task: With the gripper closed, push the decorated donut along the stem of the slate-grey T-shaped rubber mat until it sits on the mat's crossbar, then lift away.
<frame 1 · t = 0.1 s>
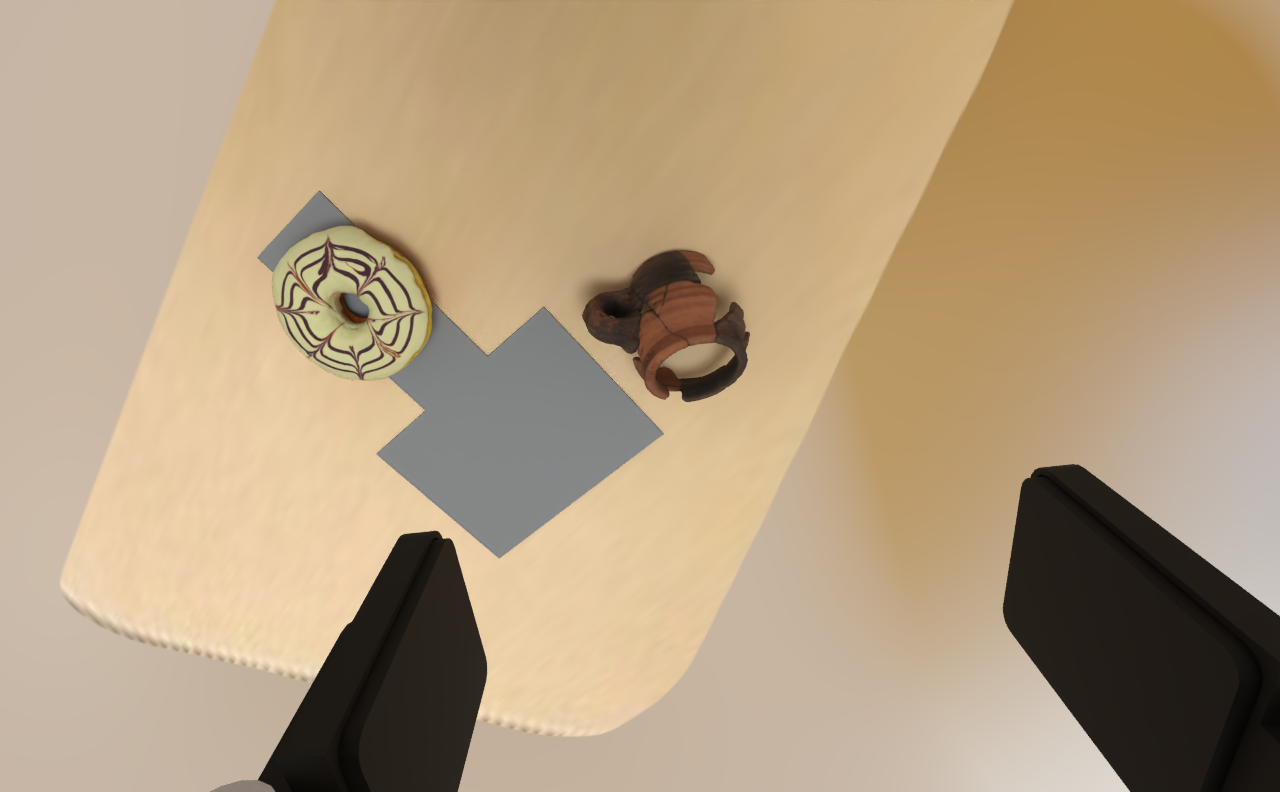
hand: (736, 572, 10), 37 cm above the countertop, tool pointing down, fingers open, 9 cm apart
t mat: (446, 374, 49), on the countertop
decorated donut: (366, 298, 46), resting on t mat
pottery mug: (665, 312, 47), on the countertop
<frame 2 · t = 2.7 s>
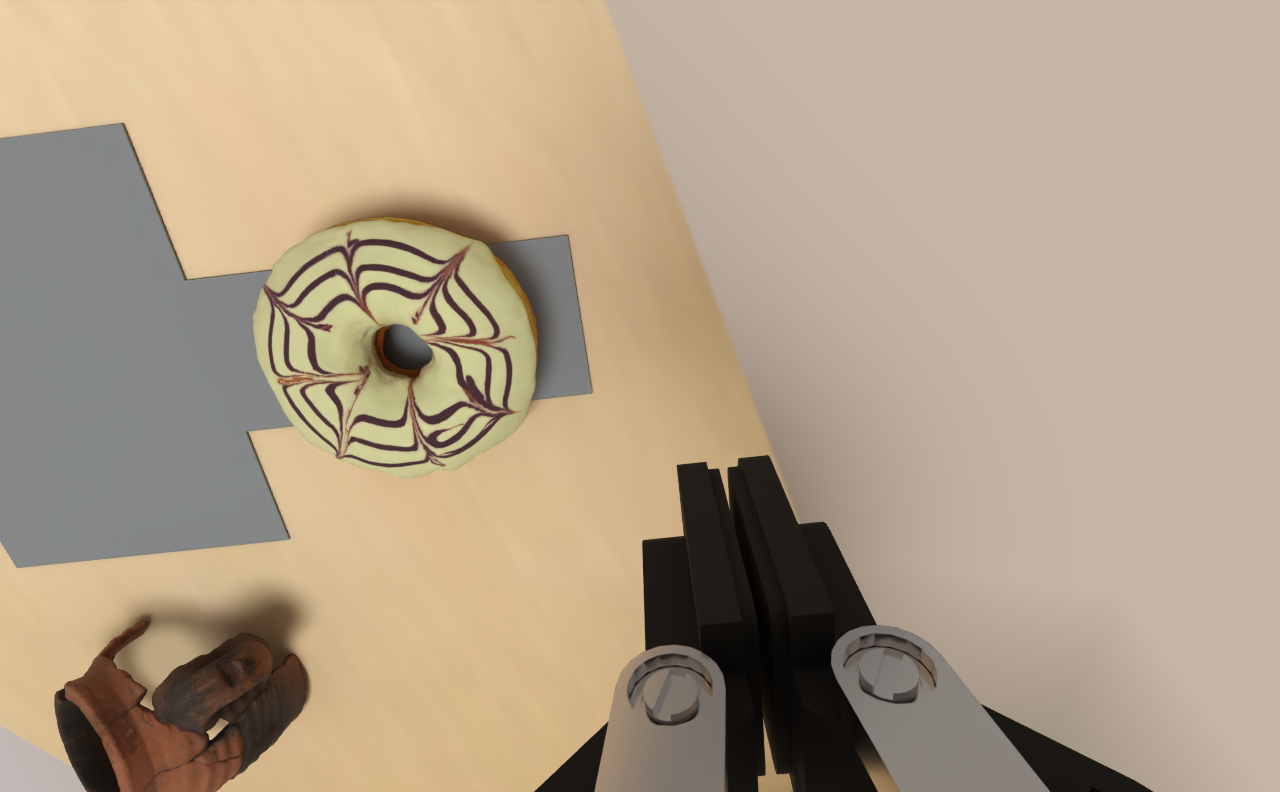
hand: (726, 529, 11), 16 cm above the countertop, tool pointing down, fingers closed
t mat: (240, 356, 27), on the countertop
decorated donut: (421, 335, 27), resting on t mat
pottery mug: (230, 656, 34), on the countertop
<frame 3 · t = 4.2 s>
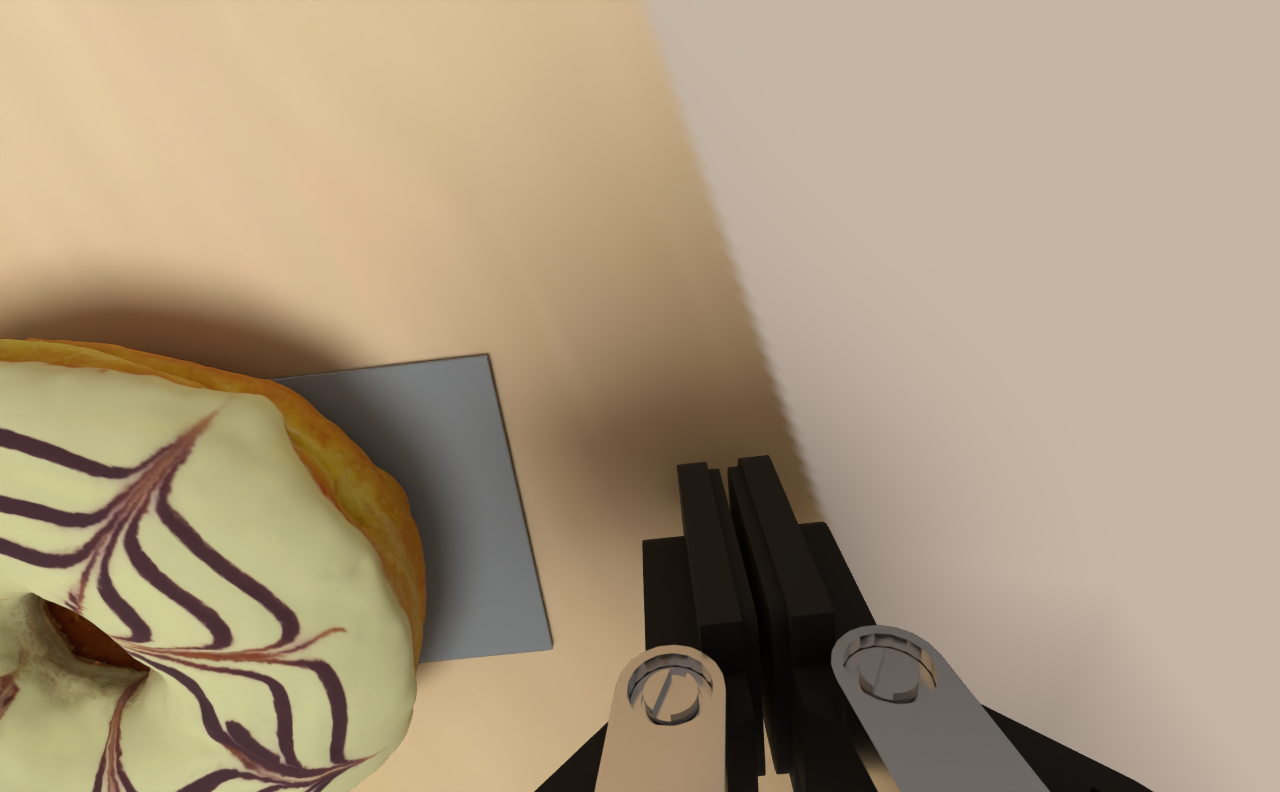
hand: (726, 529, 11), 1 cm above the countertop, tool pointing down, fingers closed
decorated donut: (192, 548, 13), resting on t mat
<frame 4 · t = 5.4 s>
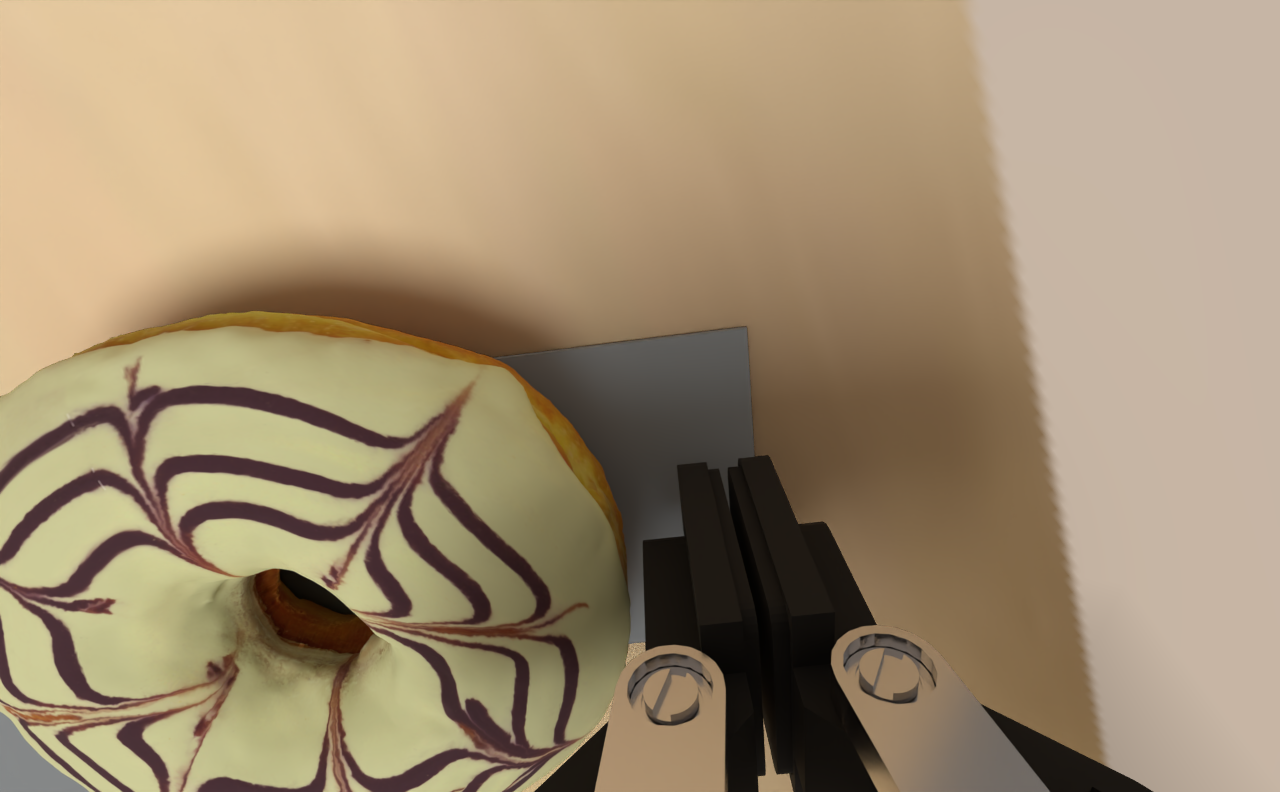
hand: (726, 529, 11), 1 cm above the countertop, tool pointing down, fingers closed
t mat: (39, 574, 13), on the countertop
decorated donut: (371, 531, 13), resting on t mat
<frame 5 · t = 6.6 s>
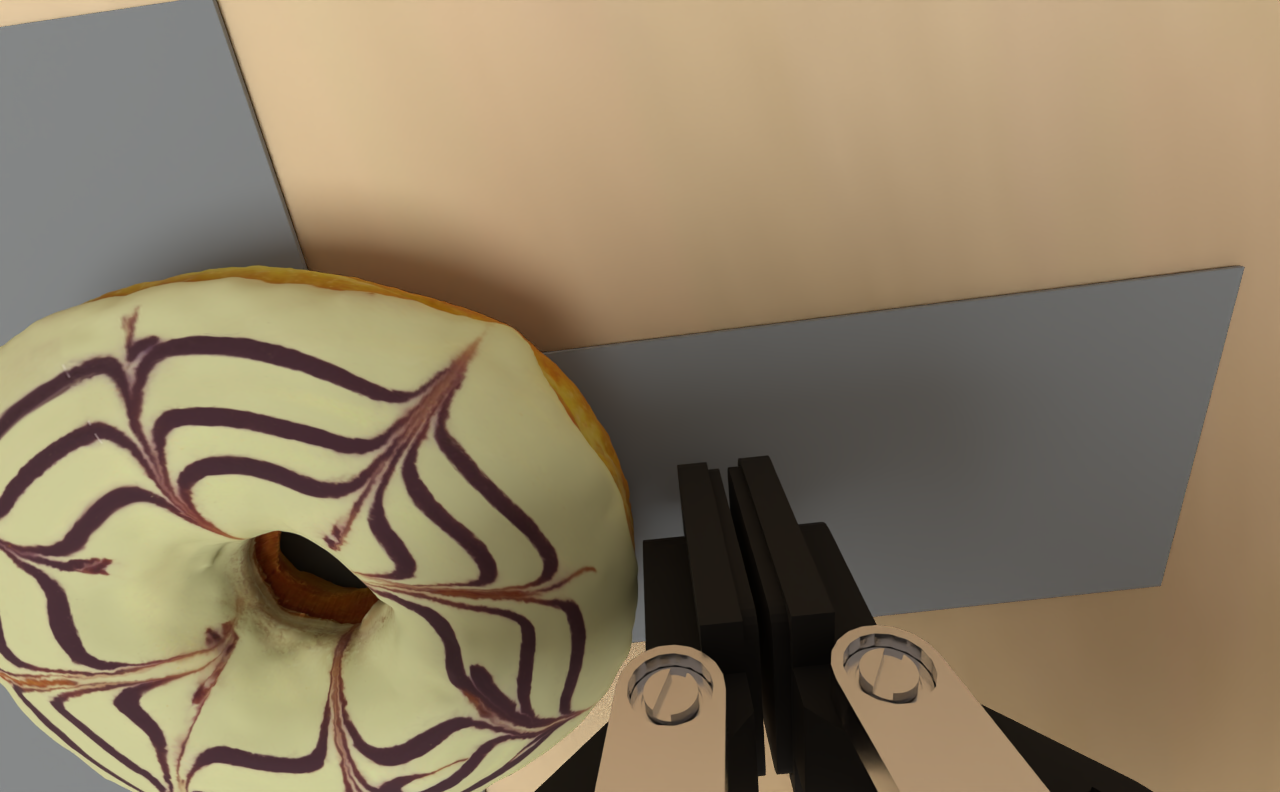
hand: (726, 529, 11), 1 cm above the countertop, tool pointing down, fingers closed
t mat: (445, 528, 13), on the countertop
decorated donut: (372, 503, 13), resting on t mat
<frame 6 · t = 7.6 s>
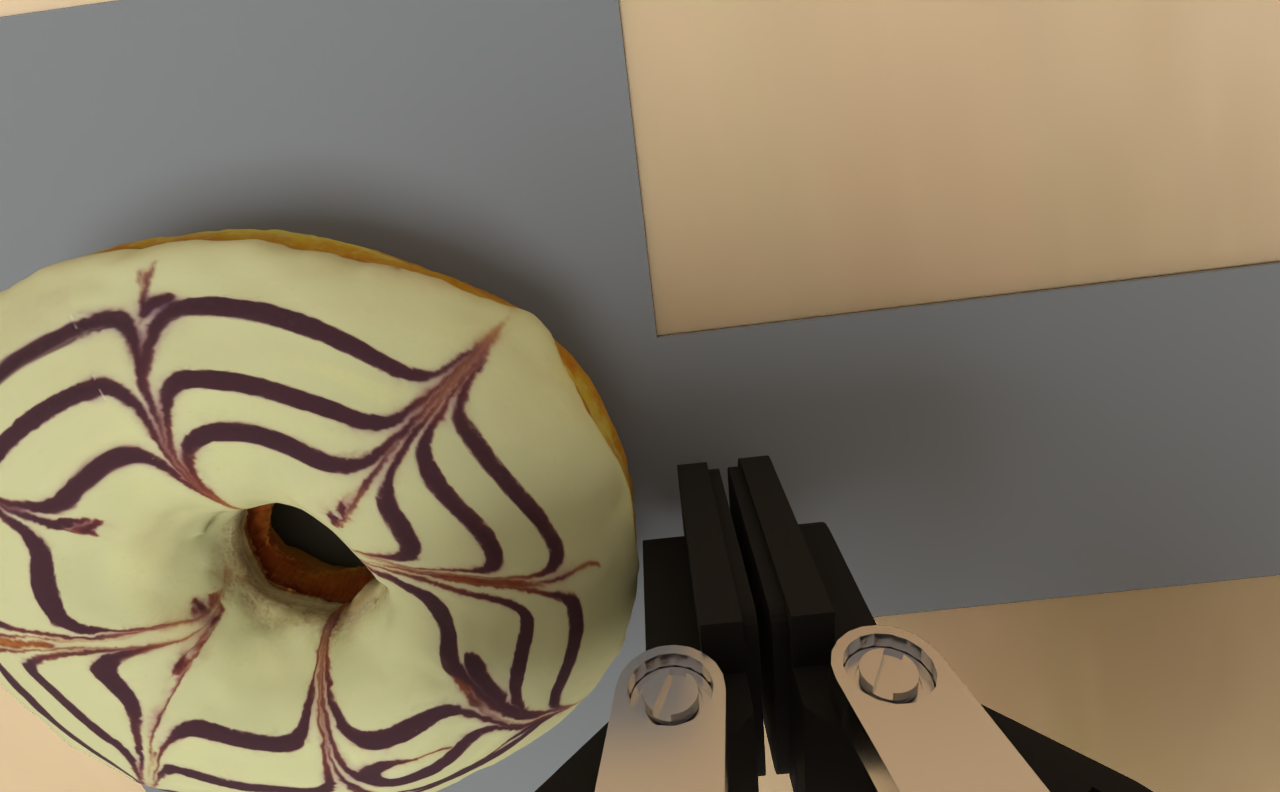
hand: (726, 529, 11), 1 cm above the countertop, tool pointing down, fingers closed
t mat: (725, 495, 13), on the countertop
decorated donut: (367, 482, 12), resting on t mat, touching gripper
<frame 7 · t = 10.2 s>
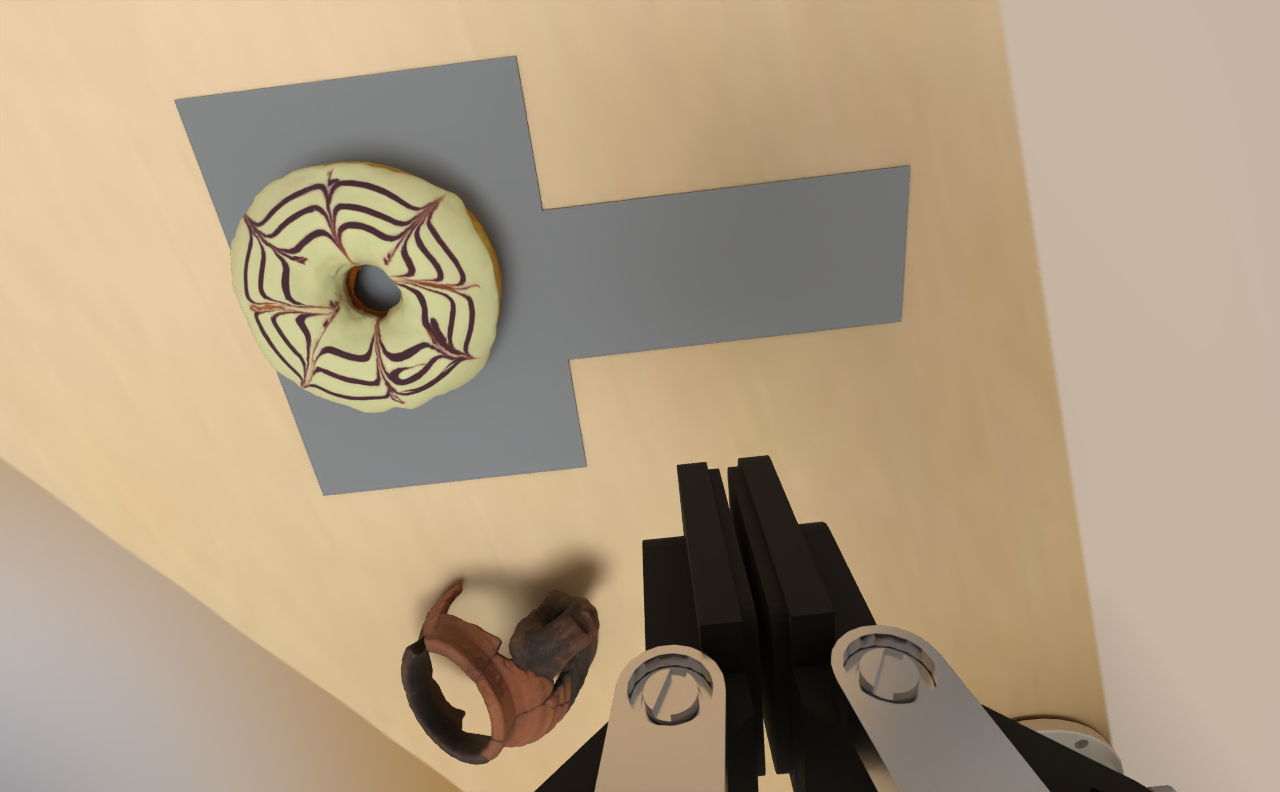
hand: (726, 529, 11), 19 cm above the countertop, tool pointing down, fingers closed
t mat: (577, 285, 29), on the countertop
decorated donut: (391, 280, 29), resting on t mat
pottery mug: (526, 615, 37), on the countertop
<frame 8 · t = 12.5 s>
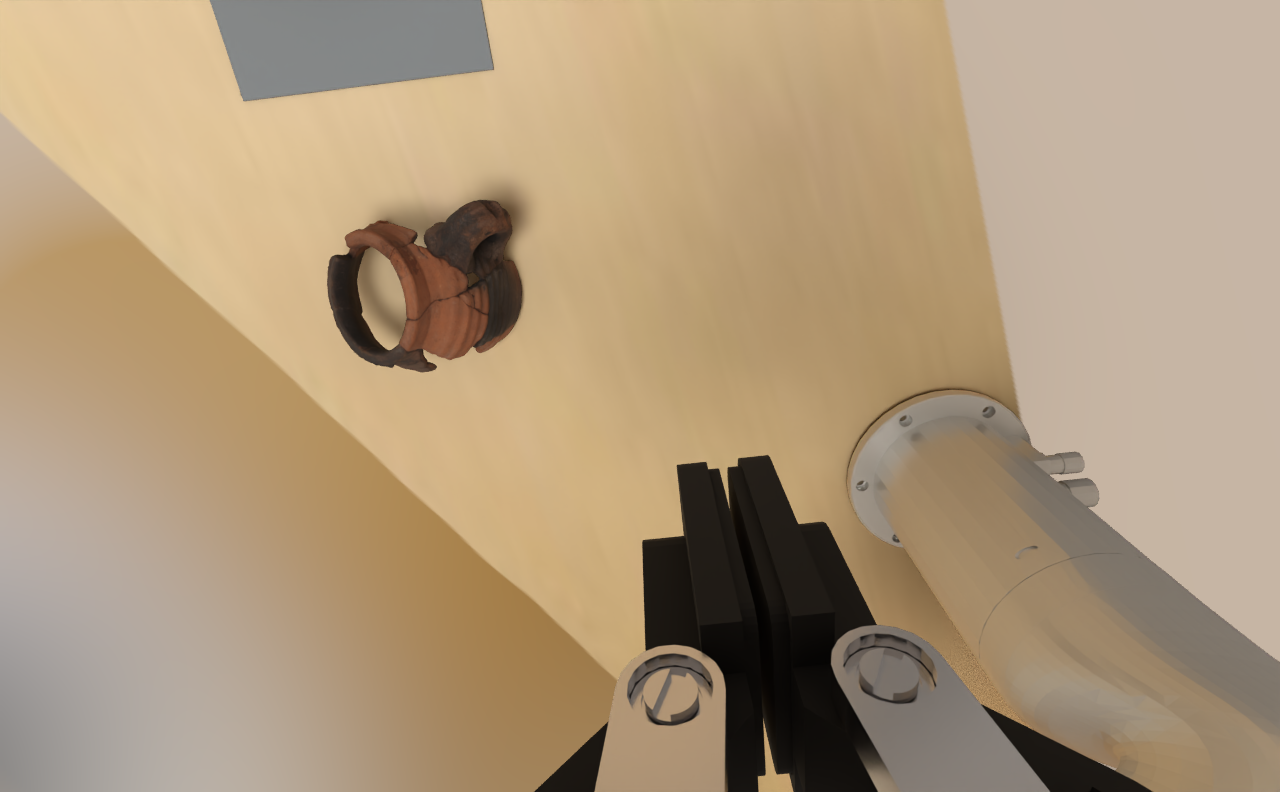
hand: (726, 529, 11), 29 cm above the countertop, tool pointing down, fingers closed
pottery mug: (454, 269, 39), on the countertop
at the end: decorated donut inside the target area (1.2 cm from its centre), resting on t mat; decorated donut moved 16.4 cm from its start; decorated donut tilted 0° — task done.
